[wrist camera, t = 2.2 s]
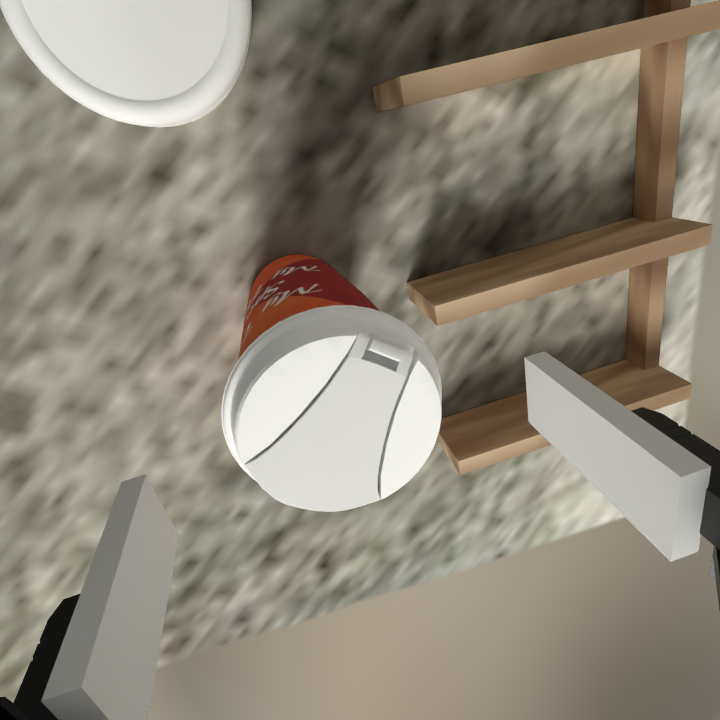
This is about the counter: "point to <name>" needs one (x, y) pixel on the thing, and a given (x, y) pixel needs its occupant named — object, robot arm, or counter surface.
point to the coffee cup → (328, 391)
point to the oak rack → (582, 250)
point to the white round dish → (137, 53)
